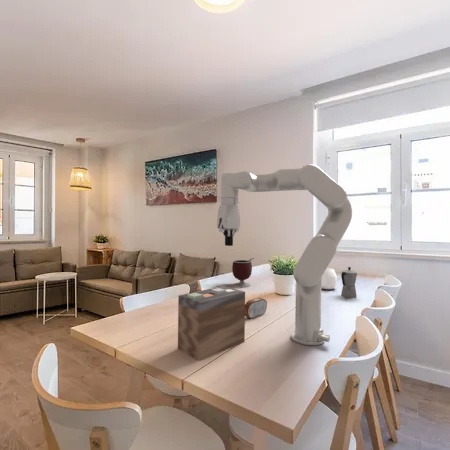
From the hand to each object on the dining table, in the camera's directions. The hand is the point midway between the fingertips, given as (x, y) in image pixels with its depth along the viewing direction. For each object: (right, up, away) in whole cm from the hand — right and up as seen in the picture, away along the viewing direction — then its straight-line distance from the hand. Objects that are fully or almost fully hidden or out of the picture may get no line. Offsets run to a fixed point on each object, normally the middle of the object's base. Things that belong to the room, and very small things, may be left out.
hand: (228, 245), depth 125 cm
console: (-6, -35, -18) cm, 40 cm away
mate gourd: (+11, -34, +82) cm, 89 cm away
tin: (+13, -35, +15) cm, 41 cm away
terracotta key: (-8, -19, -20) cm, 29 cm away
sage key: (-12, -18, -24) cm, 32 cm away
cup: (+68, -35, +76) cm, 108 cm away
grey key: (-4, -18, -16) cm, 24 cm away
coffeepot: (+74, -36, +56) cm, 99 cm away
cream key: (0, -19, -12) cm, 23 cm away
